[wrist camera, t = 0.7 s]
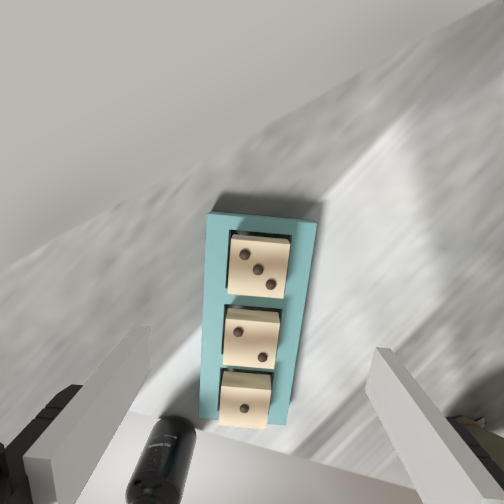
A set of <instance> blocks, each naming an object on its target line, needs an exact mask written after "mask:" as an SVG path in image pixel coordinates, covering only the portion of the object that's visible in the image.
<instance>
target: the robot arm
mask: <svg viewBox="0 0 504 504" xmlns="http://www.w3.org/2000/svg"><path fill="white" fill-rule="evenodd" d="M150 371H151V360H150V326H140V325H135V326H134V327H133V328H132V330H131V331H130V332H129V333H128V334H127V335H126V337H125V338H124V339H123V340H122V341H121V342H120V344H119V345H118V346H117V347H116V348H115V349H114V351H113V352H112V353H111V354H110V355H109V356H108V358H107V359H106V360H105V361H104V362H103V363H102V365H101V366H100V367H99V368H98V369H97V370H96V372H95V373H94V374H93V375H92V376H91V377H90V379H89V380H88V381H87V382H86V383H85V384H84V386H83V385H70V386H69V387H67V388H66V389H64V390H62V391H61V392H59V393H58V394H57V395H56V396H55V397H54V398H53V399H52V400H51V401H50V402H49V403H48V404H47V405H46V406H45V409H42V410H41V411H40V413H39V414H38V415H37V416H36V418H35V419H33V420H32V421H31V422H30V423H29V424H28V425H27V426H26V427H25V428H24V429H23V430H22V431H21V433H20V434H19V435H18V436H17V437H16V438H15V439H14V440H13V441H12V442H11V443H10V444H9V445H8V446H7V447H6V448H4V445H3V444H2V443H0V504H75V503H76V500H77V499H78V497H79V496H80V494H81V492H82V490H83V489H84V487H85V485H86V483H87V482H88V480H89V478H90V476H91V475H92V473H93V471H94V469H95V467H96V466H97V464H98V462H99V460H100V459H101V457H102V455H103V453H104V452H105V450H106V448H107V446H108V445H109V443H110V441H111V439H112V438H113V436H114V434H115V432H116V431H117V429H118V427H119V425H120V423H121V422H122V420H123V418H124V417H125V415H126V413H127V411H128V409H129V408H130V406H131V404H132V402H133V401H134V399H135V397H136V395H137V394H138V392H139V390H140V388H141V387H142V385H143V383H144V381H145V380H146V378H147V376H148V374H149V373H150ZM365 392H366V394H367V396H368V397H369V399H370V401H371V403H372V405H373V407H374V409H375V411H376V413H377V415H378V417H379V419H380V421H381V423H382V425H383V426H384V428H385V430H386V432H387V434H388V436H389V438H390V440H391V442H392V444H393V446H394V448H395V450H396V452H397V454H398V456H399V457H400V459H401V461H402V463H403V465H404V467H405V469H406V471H407V473H408V475H409V477H410V479H411V481H412V483H413V485H414V486H415V488H416V490H417V492H418V494H419V496H420V498H421V500H422V502H423V504H504V472H503V471H502V469H501V468H500V467H499V466H498V465H497V464H496V462H495V461H494V460H492V459H491V457H490V455H489V454H488V453H487V452H486V451H485V450H484V448H481V445H480V444H479V442H478V441H477V440H476V439H475V438H474V437H473V435H472V434H471V433H470V432H469V431H468V430H467V429H466V428H464V427H463V426H462V425H461V424H460V423H458V422H457V421H456V420H455V419H453V418H445V417H444V416H443V414H442V413H441V412H440V411H439V409H438V408H437V407H436V406H435V404H434V403H433V402H432V401H431V399H430V398H429V397H428V396H427V394H426V393H425V392H424V390H423V389H422V388H421V387H420V385H419V384H418V383H417V382H416V380H415V379H414V378H413V377H412V375H411V374H410V373H409V372H408V370H407V369H406V368H405V367H404V365H403V364H402V363H401V362H400V360H399V359H398V358H397V357H396V355H395V354H394V353H393V352H392V350H391V349H388V348H377V347H376V348H375V352H374V356H373V360H372V364H371V368H370V371H369V375H368V379H367V383H366V387H365Z"/></svg>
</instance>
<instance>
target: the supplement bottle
mask: <svg viewBox="0 0 504 504" xmlns="http://www.w3.org/2000/svg"><path fill="white" fill-rule="evenodd" d="M195 443H196V432H195V429H194V427H193V426H192V425H191V424H190V423H189V422H188V421H187V420H185V419H183V418H180V417H174V416H173V417H166V418H163V419H161V420H160V421H158V422H157V423H156V424H155V426H154V427H153V429H152V431H151V433H150V436H149V438H148V440H147V443H146V445H145V447H144V450H143V452H142V454H141V456H140V459H139V461H138V463H137V465H136V468H135V470H134V472H133V474H132V477H131V479H130V482H129V484H128V486H127V489H126V494H125V495H126V497H125V499H126V504H180V502H181V499H182V495H183V491H184V487H185V483H186V479H187V475H188V471H189V467H190V463H191V459H192V455H193V451H194V447H195Z"/></svg>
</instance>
